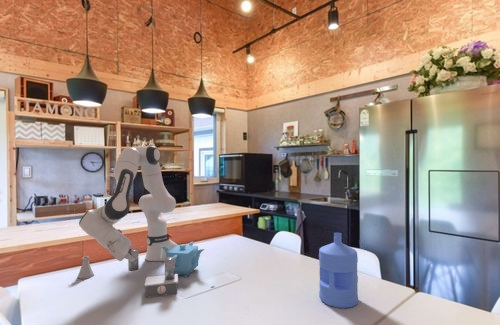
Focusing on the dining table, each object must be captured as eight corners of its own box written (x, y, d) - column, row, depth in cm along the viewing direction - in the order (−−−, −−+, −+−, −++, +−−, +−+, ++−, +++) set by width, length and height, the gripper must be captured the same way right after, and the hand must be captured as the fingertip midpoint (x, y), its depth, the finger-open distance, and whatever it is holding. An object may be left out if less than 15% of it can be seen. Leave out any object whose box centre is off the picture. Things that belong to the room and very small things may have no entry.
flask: (74, 277, 145) (74, 258, 145) (88, 273, 151) (88, 254, 151) (83, 280, 141) (83, 260, 141) (96, 275, 148) (96, 256, 148)
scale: (177, 285, 134) (177, 273, 134) (178, 294, 126) (177, 281, 126) (146, 289, 131) (146, 277, 131) (144, 298, 122) (144, 285, 122)
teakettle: (171, 282, 138) (171, 252, 138) (160, 270, 154) (160, 243, 154) (207, 274, 149) (206, 246, 149) (193, 263, 164) (192, 238, 164)
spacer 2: (171, 275, 132) (171, 256, 132) (176, 278, 129) (176, 258, 129) (163, 278, 129) (162, 258, 129) (168, 281, 126) (167, 260, 126)
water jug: (328, 288, 130) (327, 227, 131) (363, 298, 120) (362, 232, 121) (312, 301, 118) (312, 234, 119) (350, 313, 108) (349, 240, 109)
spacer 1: (136, 266, 134) (135, 248, 134) (140, 269, 131) (140, 250, 131) (126, 269, 131) (126, 250, 131) (130, 272, 128) (130, 252, 128)
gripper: (111, 239, 119) (137, 260, 122) (120, 228, 139) (142, 246, 141) (100, 251, 118) (126, 272, 121) (110, 238, 138) (132, 256, 140)
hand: (134, 258), depth 131 cm, fingers closed on spacer 1, 4 cm apart
